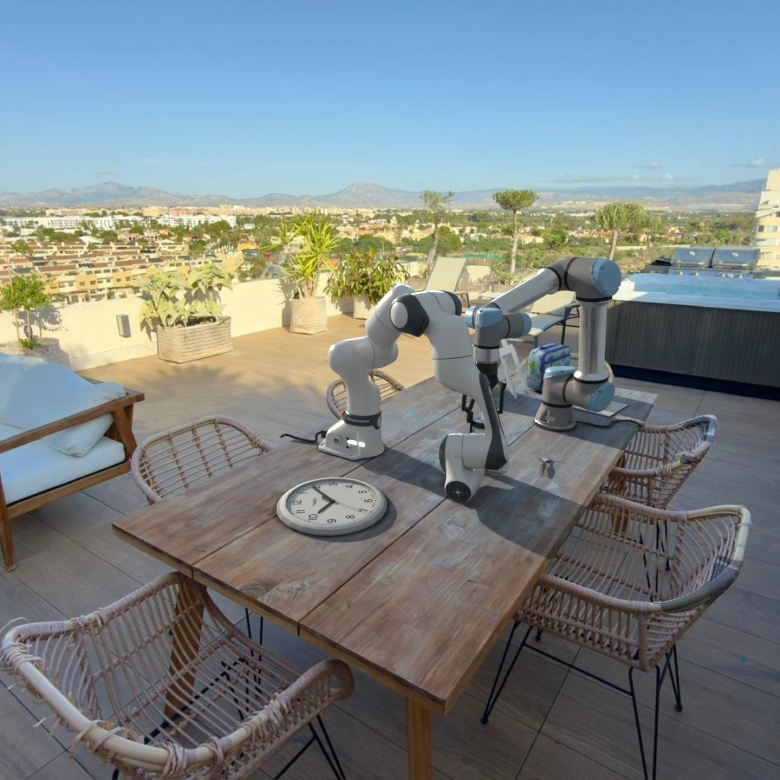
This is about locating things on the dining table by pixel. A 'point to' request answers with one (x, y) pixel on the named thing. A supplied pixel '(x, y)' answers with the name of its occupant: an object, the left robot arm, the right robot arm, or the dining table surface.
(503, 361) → the white plastic object
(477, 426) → the lid
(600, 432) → the dining table surface
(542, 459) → the fork
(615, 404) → the invitation card
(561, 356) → the lunch box
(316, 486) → the wall clock
